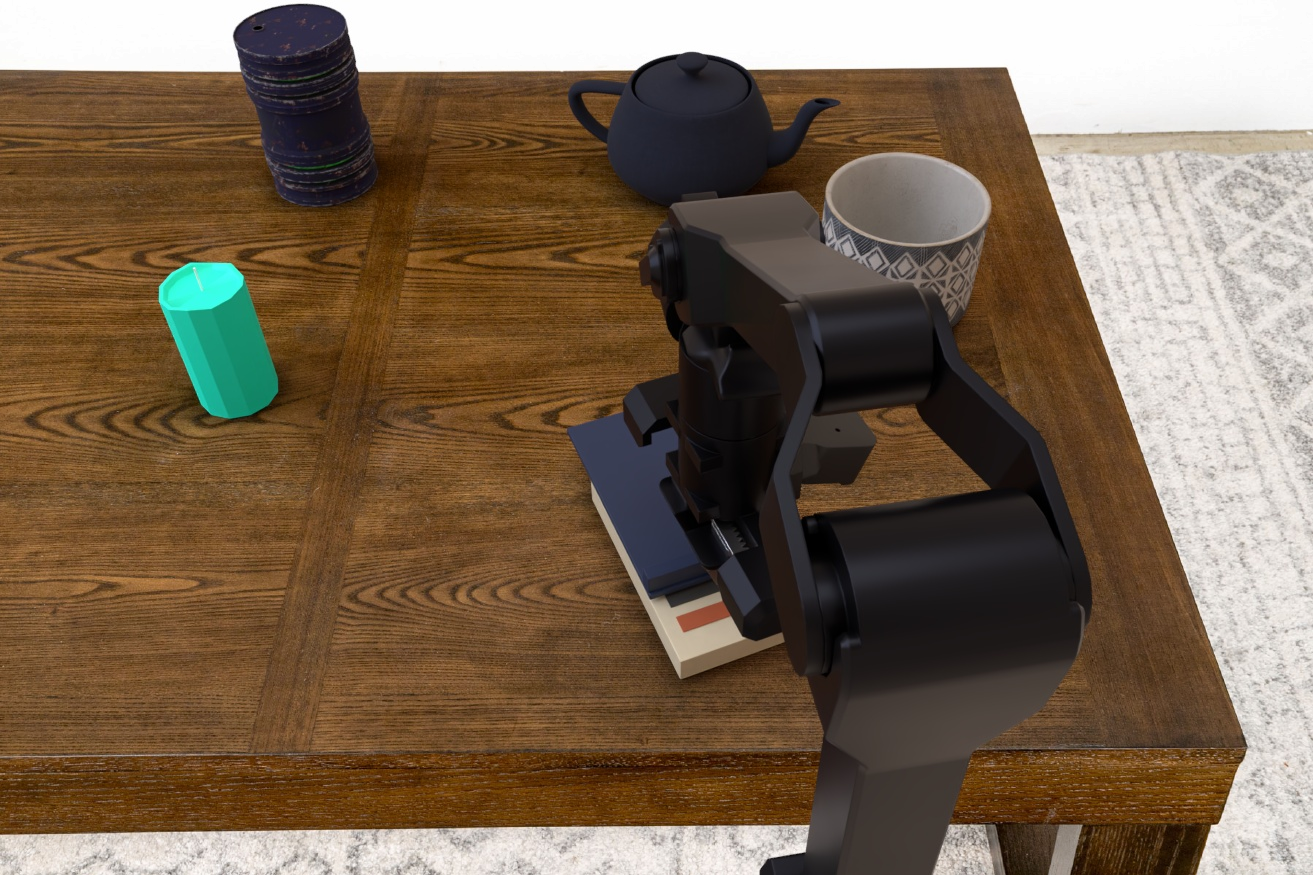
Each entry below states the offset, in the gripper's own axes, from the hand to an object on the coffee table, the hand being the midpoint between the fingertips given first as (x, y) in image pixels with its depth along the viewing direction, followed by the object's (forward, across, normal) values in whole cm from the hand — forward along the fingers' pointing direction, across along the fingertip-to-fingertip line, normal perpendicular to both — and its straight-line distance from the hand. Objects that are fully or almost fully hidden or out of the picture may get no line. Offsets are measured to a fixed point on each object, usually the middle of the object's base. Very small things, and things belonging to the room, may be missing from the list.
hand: (722, 579), depth 73 cm
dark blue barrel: (+3, +60, +14) cm, 62 cm away
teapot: (+3, +46, -19) cm, 50 cm away
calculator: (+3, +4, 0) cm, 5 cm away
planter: (+3, +23, -26) cm, 35 cm away
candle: (+3, +33, +26) cm, 42 cm away
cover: (+1, +9, 0) cm, 9 cm away
